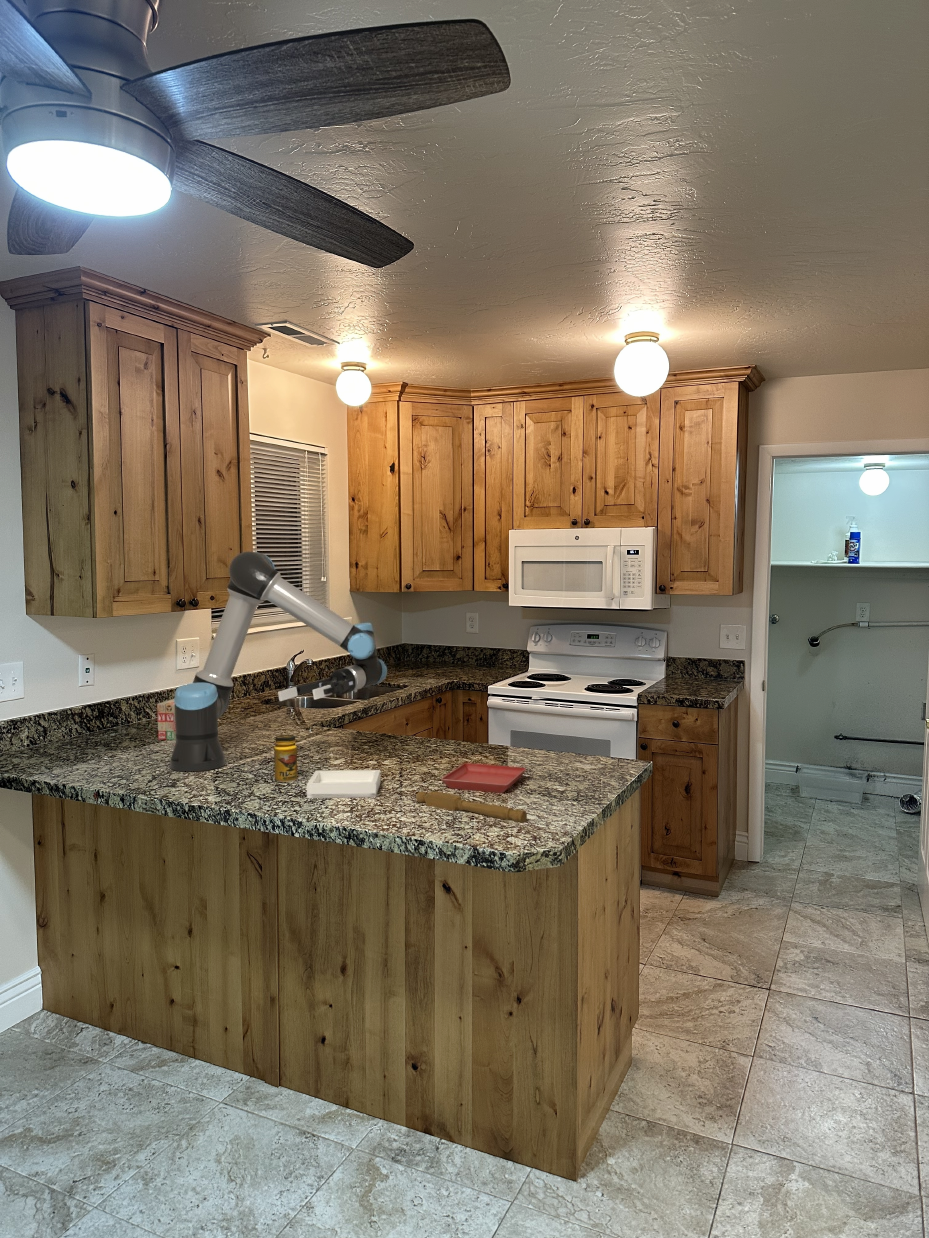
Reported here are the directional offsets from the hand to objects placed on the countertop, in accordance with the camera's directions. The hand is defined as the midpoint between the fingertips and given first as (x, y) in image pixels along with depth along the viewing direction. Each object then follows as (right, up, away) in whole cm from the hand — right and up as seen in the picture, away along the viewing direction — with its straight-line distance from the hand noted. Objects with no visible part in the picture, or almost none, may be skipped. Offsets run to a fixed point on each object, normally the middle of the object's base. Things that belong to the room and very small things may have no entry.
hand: (296, 695), depth 232 cm
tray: (+16, -22, -19) cm, 34 cm away
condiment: (-2, -22, -7) cm, 24 cm away
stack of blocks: (-51, -19, +59) cm, 80 cm away
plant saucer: (+52, -23, -13) cm, 58 cm away
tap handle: (+48, -24, -38) cm, 66 cm away
